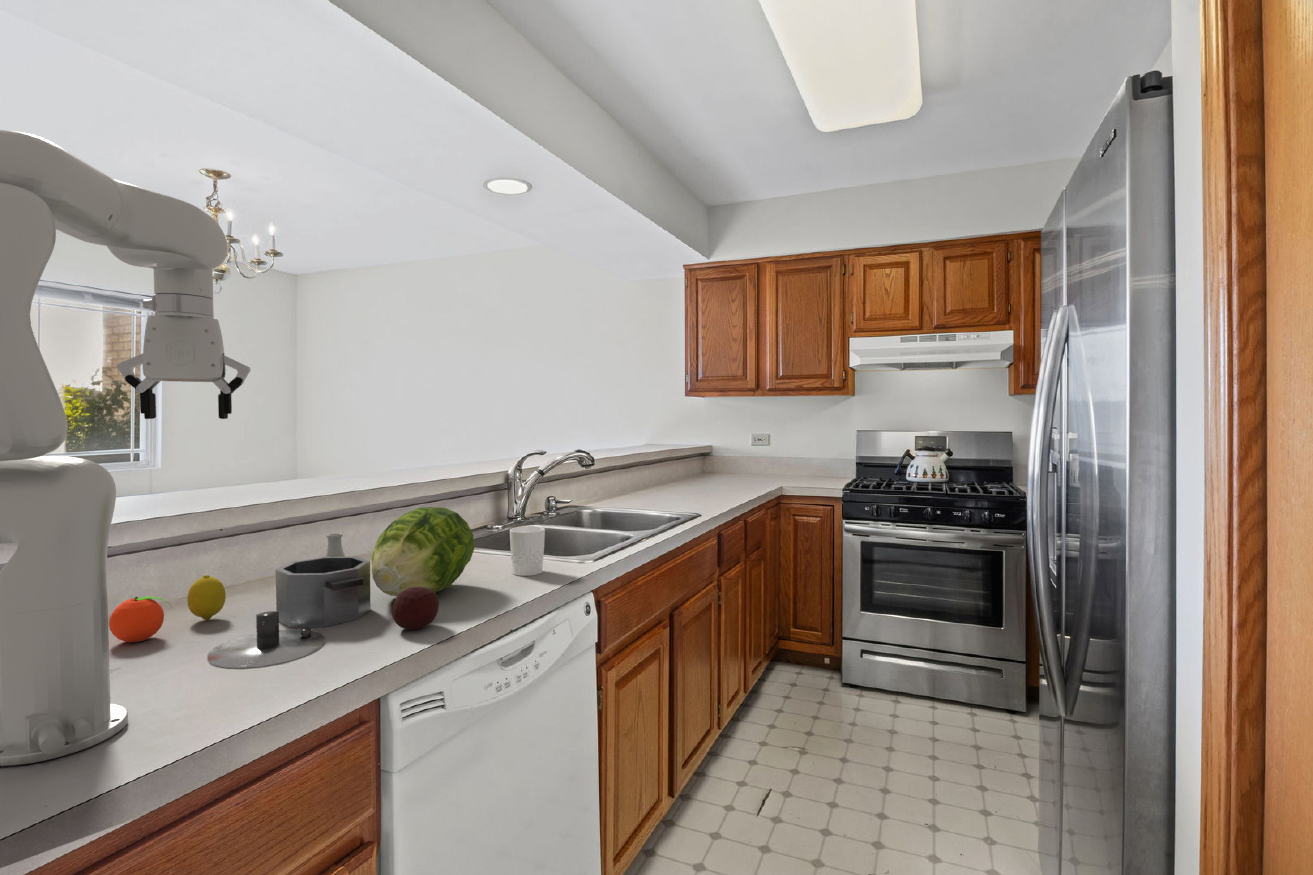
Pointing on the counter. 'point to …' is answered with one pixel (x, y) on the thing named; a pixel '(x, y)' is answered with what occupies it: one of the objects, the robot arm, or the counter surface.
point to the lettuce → (422, 551)
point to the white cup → (527, 550)
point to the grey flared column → (334, 545)
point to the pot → (322, 591)
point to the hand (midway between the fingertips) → (187, 418)
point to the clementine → (136, 619)
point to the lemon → (206, 597)
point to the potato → (415, 608)
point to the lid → (266, 645)
